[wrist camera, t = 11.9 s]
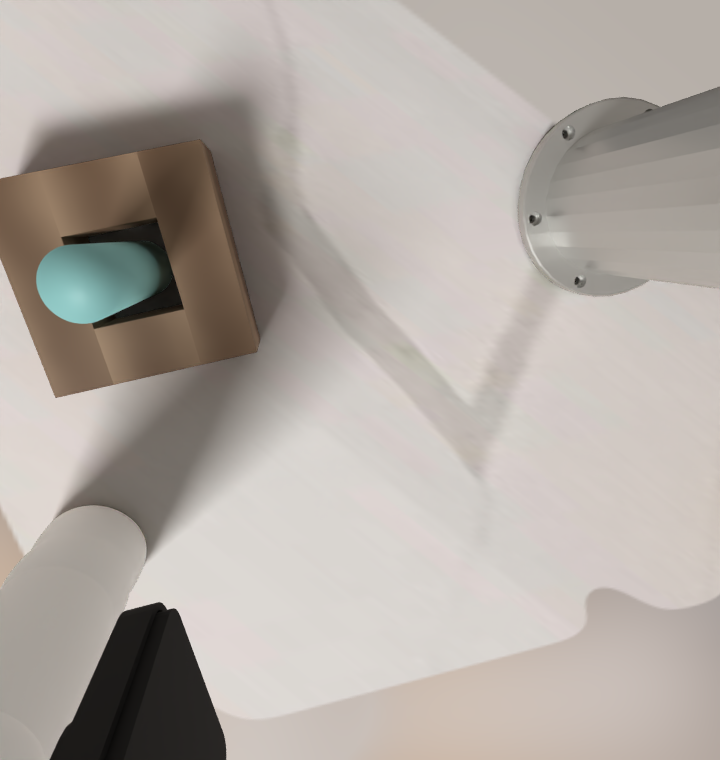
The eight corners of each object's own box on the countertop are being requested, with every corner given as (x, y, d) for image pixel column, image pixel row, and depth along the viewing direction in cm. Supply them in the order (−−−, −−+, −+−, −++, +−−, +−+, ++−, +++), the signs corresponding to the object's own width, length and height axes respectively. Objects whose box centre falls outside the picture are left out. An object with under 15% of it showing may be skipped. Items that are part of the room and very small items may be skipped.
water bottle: (38, 503, 36) (-442, 1018, 12) (145, 498, 37) (-112, 970, 13) (52, 590, 38) (-343, 1183, 14) (153, 583, 39) (-60, 1131, 15)
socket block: (210, 150, 32) (199, 139, 28) (260, 339, 35) (257, 351, 31) (10, 190, 31) (-29, 184, 27) (81, 379, 34) (55, 398, 31)
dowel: (163, 235, 33) (104, 237, 22) (179, 289, 34) (130, 314, 23) (109, 246, 33) (23, 253, 22) (127, 300, 34) (53, 331, 23)
